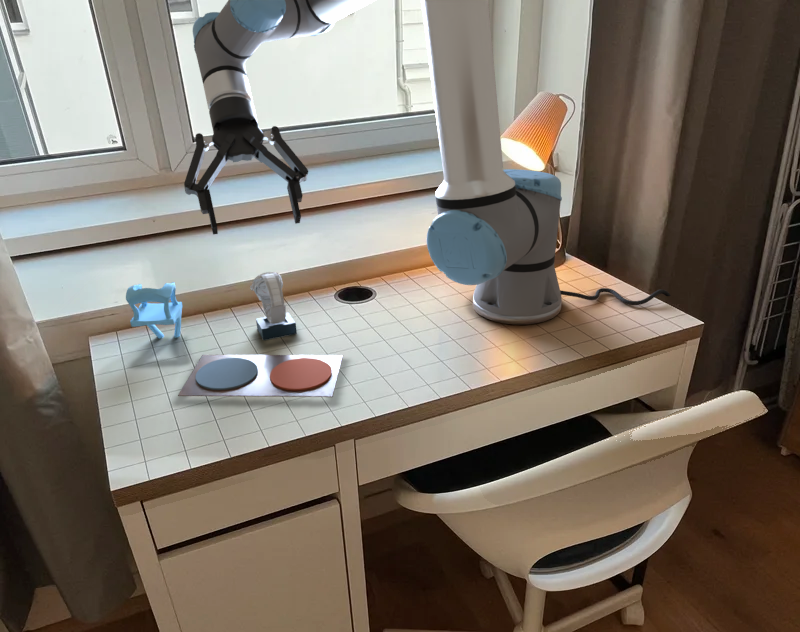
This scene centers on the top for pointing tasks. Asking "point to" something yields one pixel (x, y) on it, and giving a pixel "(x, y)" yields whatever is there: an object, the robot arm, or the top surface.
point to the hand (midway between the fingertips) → (257, 225)
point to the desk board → (264, 378)
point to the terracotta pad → (300, 374)
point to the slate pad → (226, 373)
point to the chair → (155, 308)
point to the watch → (272, 307)
